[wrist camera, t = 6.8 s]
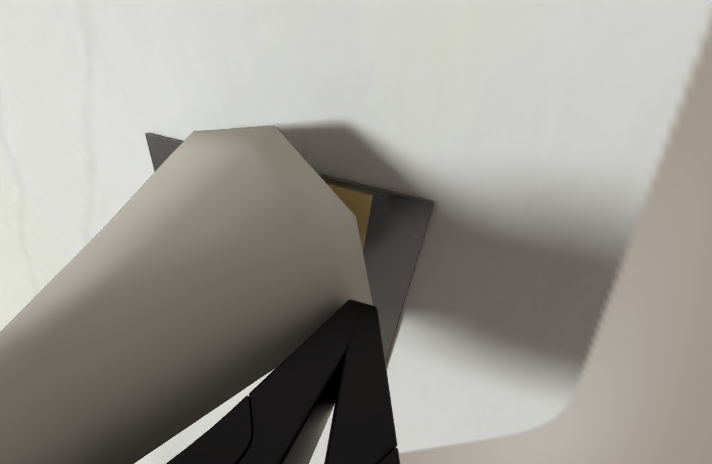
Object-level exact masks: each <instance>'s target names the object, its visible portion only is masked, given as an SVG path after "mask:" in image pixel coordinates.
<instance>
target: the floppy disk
mask: <svg viewBox="0 0 712 464" xmlns="http://www.w3.org/2000/svg"><path fill="white" fill-rule="evenodd" d="M145 135H146V139H147V143H148V147H149V151H150V155H151V159H152V163H153V167H154V171H156V170H157V169H158V168H159V167H160V166H161V165H162V164H163V163H164V161H165V160H166V159H167V158H168V157H169V156H170V155H171V154H172V153H173V152H174V151H175V150H176V149H177V148H178V147H179V146H180V145H181V144H182V143H183V141H179V140H175V139H170V138H166V137H162V136H158V135H154V134H150V133H146V134H145ZM318 175H319V176H320V177H321V178H322V179H323V180H324V181H325V183H326V184H327V185H328V186H329V187H330V188H331V189H332V190H333V192H334V193H335V194H336V195H337V196H338V197H339V198H340V199H341V200H342V202H343V203H344V204H345V205H346V206H347V207H348V208H349V209H350V211H351V212H352V213H353V214H354V215H355V216H356V220H357V225H358V230H359V236H360V241H361V246H362V251H363V256H364V261H365V266H366V272H367V277H368V282H369V287H370V292H371V297H372V302H373V306H375V307H377V309H378V315H379V322H380V329H381V336H382V343H383V350H384V357H385V362H386V359H387V356H388V353H389V349H390V346H391V343H392V339H393V336H394V333H395V330H396V326H397V323H398V320H399V316H400V313H401V310H402V307H403V303H404V300H405V297H406V293H407V290H408V287H409V284H410V280H411V277H412V274H413V270H414V267H415V264H416V261H417V257H418V254H419V251H420V247H421V244H422V241H423V238H424V234H425V231H426V228H427V224H428V221H429V218H430V215H431V211H432V208H433V205H434V202H433V201H429V200H425V199H421V198H416V197H412V196H408V195H404V194H400V193H396V192H391V191H387V190H383V189H379V188H375V187H370V186H366V185H362V184H358V183H354V182H350V181H345V180H341V179H337V178H333V177H329V176H325V175H320V174H318Z"/></svg>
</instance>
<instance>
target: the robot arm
mask: <svg viewBox="0 0 712 464" xmlns="http://www.w3.org/2000/svg"><path fill="white" fill-rule="evenodd" d="M334 404H335V407H334ZM333 407H334V412H333V418H332V423H331V429H330V434H329V440H328V445H327V451H326V457H325V462H324V464H400V459H399V452H398V449H397V448H396V447H397V440H396V433H395V426H394V419H393V412H392V405H391V398H390V391H389V384H388V377H387V370H386V364H385V357H384V350H383V343H382V336H381V329H380V322H379V315H378V309H377V307H375V306H373V305H369V304H366V303H362V302H359V301H356V300H352V299H350V300H348V301H346V302H345V303H344V304H343V305H342V306H341V307H340V308H339V309H338V310H337V311H336V312H335V313H334V314H333V315H332V316H331V317H330V318H328V319H327V320H326V321H325V322H324V323H323V324H322V325H321V326H320V327H319V328H318V329H317V330H316V331H315V332H314V333H313V334H312V335H311V336H309V337H308V338H307V339H306V340H305V341H304V342H303V343H302V344H301V345H300V346H299V347H298V348H297V349H296V350H295V351H294V352H293V353H291V354H290V355H289V356H288V357H287V358H286V359H285V360H284V361H283V362H282V363H281V364H280V365H279V366H278V367H277V368H276V369H275V370H273V371H272V372H271V373H270V374H269V375H268V376H267V377H266V378H265V379H264V380H263V381H262V382H261V383H260V384H259V385H258V386H257V387H256V388H254V389H253V390H252V391H251V392H250V393H249V396H246V397H245V398H244V399H243V400H242V401H240V402H239V403H238V404H237V405H236V406H235V407H234V408H233V409H232V410H231V411H230V412H229V413H228V414H226V415H225V416H224V417H223V418H222V419H221V420H220V421H219V422H217V423H216V424H215V425H214V426H213V427H212V428H211V429H209V430H208V431H207V432H206V433H204V434H203V435H202V436H201V437H199V438H198V439H197V440H196V441H195V442H193V443H192V444H191V445H190V446H188V447H187V448H186V449H184V450H183V451H182V452H181V453H179V454H178V455H177V456H175V457H174V458H173V459H171V460H170V461H169V462H168V463H166V464H309V462H310V459H311V457H312V455H313V453H314V450H315V448H316V446H317V443H318V441H319V439H320V436H321V434H322V432H323V430H324V427H325V425H326V423H327V420H328V418H329V416H330V414H331V411H332V409H333Z"/></svg>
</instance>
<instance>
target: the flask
mask: <svg viewBox="0 0 712 464" xmlns="http://www.w3.org/2000/svg"><path fill="white" fill-rule="evenodd" d="M350 299H352V300H356V301H359V302H362V303H366V304H369V305H373V302H372V297H371V292H370V287H369V282H368V277H367V272H366V266H365V261H364V256H363V251H362V246H361V241H360V236H359V230H358V225H357V220H356V216H355V215H354V214H353V213H352V212H351V211H350V209H349V208H348V207H347V206H346V205H345V204H344V203H343V202H342V200H341V199H340V198H339V197H338V196H337V195H336V194H335V193H334V192H333V190H332V189H331V188H330V187H329V186H328V185H327V184H326V183H325V181H324V180H323V179H322V178H321V177H320V176H319V175H318V174H317V172H316V171H315V170H314V169H313V168H312V167H311V166H310V165H309V163H308V162H307V161H306V160H305V159H304V158H303V157H302V156H301V155H300V153H299V152H298V151H297V150H296V149H295V148H294V147H293V146H292V144H291V143H290V142H289V141H288V140H287V139H286V138H285V137H284V135H283V134H282V133H281V132H280V131H279V130H278V129H277V128H276V126H263V127H248V128H234V129H220V130H205V131H194V132H193V133H192V134H191V135H190V136H189V137H188V138H187V139H186V140H185V141H184V142H183V143H182V144H181V145H180V146H179V147H178V148H177V149H176V150H175V151H174V152H173V153H172V154H171V155H170V156H169V157H168V158H167V159H166V160H165V161H164V163H163V164H162V165H161V166H160V167H159V168H158V169H157V170H156V171H155V172H154V173H153V175H152V176H151V177H150V178H149V179H148V180H147V181H146V182H145V183H144V184H143V185H142V187H141V188H140V189H139V190H138V191H137V192H136V193H135V194H134V195H133V196H132V197H131V199H130V200H129V201H128V202H127V203H126V204H125V205H124V206H123V207H122V208H121V209H120V211H119V212H118V213H117V214H116V215H115V216H114V217H113V218H112V219H111V220H110V221H109V223H108V224H107V225H106V226H105V227H104V228H103V229H102V230H101V231H100V232H99V233H98V234H97V235H96V236H95V237H94V238H93V239H92V240H91V241H90V242H89V243H88V244H87V245H86V246H85V247H84V248H83V249H82V250H81V251H80V252H79V253H78V254H77V255H76V256H75V257H74V258H73V259H72V260H71V261H70V262H69V263H68V264H67V265H66V266H65V267H64V268H63V269H62V270H61V271H60V272H59V273H58V274H57V275H56V276H55V277H54V278H53V279H52V280H51V281H50V282H49V283H48V284H47V285H46V286H45V287H44V288H43V289H42V290H41V291H40V292H39V293H38V294H37V295H36V296H35V297H34V298H33V299H32V300H31V301H30V302H29V303H28V304H27V305H26V306H25V307H24V309H23V310H22V311H21V312H20V313H19V314H18V315H17V316H16V317H15V318H14V319H13V320H12V321H11V322H10V323H9V324H8V325H7V326H6V327H5V328H4V329H3V330H2V331H1V332H0V464H134V463H135V462H137V461H138V460H140V459H141V458H143V457H144V456H146V455H147V454H149V453H150V452H152V451H153V450H155V449H156V448H158V447H159V446H160V445H162V444H163V443H165V442H166V441H168V440H169V439H171V438H172V437H174V436H175V435H177V434H178V433H180V432H181V431H183V430H184V429H186V428H187V427H189V426H190V425H192V424H193V423H194V422H196V421H197V420H199V419H200V418H202V417H203V416H205V415H206V414H208V413H209V412H211V411H212V410H214V409H215V408H217V407H218V406H220V405H221V404H223V403H224V402H226V401H227V400H229V399H230V398H231V397H233V396H234V395H236V394H237V393H239V392H240V391H242V390H243V389H245V388H246V387H248V386H249V385H251V384H252V383H254V382H255V381H257V380H258V379H260V378H261V377H263V376H264V375H266V374H267V373H269V372H270V371H272V370H274V369H275V368H277V367H278V366H279V365H280V364H281V363H282V362H283V361H284V360H285V359H286V358H287V357H288V356H289V355H290V354H291V353H293V352H294V351H295V350H296V349H297V348H298V347H299V346H300V345H301V344H302V343H303V342H304V341H305V340H306V339H307V338H308V337H309V336H311V335H312V334H313V333H314V332H315V331H316V330H317V329H318V328H319V327H320V326H321V325H322V324H323V323H324V322H325V321H326V320H327V319H328V318H330V317H331V316H332V315H333V314H334V313H335V312H336V311H337V310H338V309H339V308H340V307H341V306H342V305H343V304H344V303H345V302H346V301H348V300H350Z"/></svg>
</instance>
